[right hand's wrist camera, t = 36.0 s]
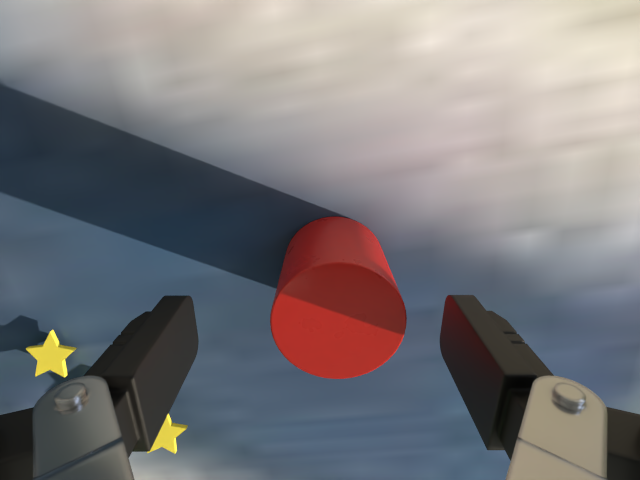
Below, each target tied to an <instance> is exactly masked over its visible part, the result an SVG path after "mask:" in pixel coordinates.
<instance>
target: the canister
mask: <svg viewBox="0 0 640 480" xmlns="http://www.w3.org/2000/svg"><path fill="white" fill-rule="evenodd" d="M406 319H407V318H406V310H405V306H404V302H403V300H402V297H401V295H400V292H399V290H398V288H397V285H396V283H395V280H394V278H393V275H392V273H391V270H390V268H389V266H388V263H387V261H386V258H385V256H384V253H383V251H382V248H381V246H380V244H379V242H378V240H377V238H376V237H375V236H374V234H373V233H372V232H371V231H370V230H369V229H368V228H367V227H365V226H364V225H362V224H361V223H359V222H357V221H355V220H352V219H349V218H344V217H325V218H321V219H317V220H315V221H312V222H310V223H309V224H307V225H305V226H304V227H303V228H301V229H300V230H299V231H298V232H297V233H296V234H295V235H294V237H293V238H292V239H291V241H290V243H289V245H288V248H287V251H286V255H285V258H284V262H283V266H282V270H281V274H280V278H279V282H278V286H277V290H276V294H275V298H274V302H273V306H272V310H271V317H270V325H271V331H272V335H273V338H274V341H275V343H276V345H277V347H278V348H279V350H280V351H281V353H282V354H283V355H284V357H285V358H287V359H288V360H289V361H290V362H291V363H292V364H293V365H295V366H296V367H298V368H299V369H301V370H303V371H305V372H307V373H310V374H312V375H316V376H319V377H324V378H332V379H344V378H352V377H356V376H360V375H363V374H366V373H368V372H370V371H372V370H374V369H376V368H378V367H379V366H381V365H382V364H384V363H385V362H386V361H387V360H388V359H389V358H390V357H391V356H392V355H393V354H394V353H395V351H396V350H397V349H398V347H399V345H400V343H401V341H402V339H403V336H404V333H405V329H406Z"/></svg>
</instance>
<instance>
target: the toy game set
mask: <svg viewBox="0 0 640 480" xmlns="http://www.w3.org/2000/svg"><path fill="white" fill-rule="evenodd" d="M75 349H76V348H74V347H69V346H63V345H60V343H59V341H58V339H57V337H56V335H55V332H54V330H52V331H51V332H50V333H49V335H48V337H47V339H46V341H45V343H44V345H37V346H29V347H27V348H26V350H27V351H28V352H29V353H30V354H31V355H32V356H33V357H34V358H36V359H37V360H38V363H37V368H36V374H35V377H36V376H38V375H40V374H42V373H44V372H46V371H48V370H51V371H53V372H55V373H57V374H59V375H61V376H63V377H64V378H65V377H66V376H67V369H66V363H65V358H67V357H68V356H69V355H70V354H71V353H72V352H73V351H74V350H75ZM187 426H188V425H182V424H176V423H172V421H171V419H170V416H169V414H168V415H167V417H166V419H165V421H164V423H163V425H162V427H161V429H160V432H159V434H158V436H157V438H156V440H155V442H154V444H153V446H152V448H151V450H150V451H148V452H147V453H149V452H151V451H153V450H156V449H158V448H160V447H163V448H165V449H167V450H169V451H171V452H173V453H176V451H177V448H176V437H177V436H178V435H179V434H181V433H182V432H183V431H184V430H185V429H187Z"/></svg>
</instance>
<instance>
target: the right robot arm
mask: <svg viewBox="0 0 640 480" xmlns="http://www.w3.org/2000/svg"><path fill="white" fill-rule="evenodd" d="M440 349H441V353H442V356H443V359H444V361H445V363H446V365H447V367H448V369H449V371H450V373H451V375H452V377H453V379H454V382H455V384H456V386H457V388H458V390H459V392H460V394H461V396H462V398H463V400H464V402H465V404H466V406H467V409H468V411H469V413H470V415H471V417H472V419H473V421H474V423H475V425H476V427H477V429H478V431H479V434H480V436H481V438H482V440H483V442H484V444H485V446H486V448H487V450H505V451H506V453H507V455H508V457H509V459H510V460H511V462H510V466H509V469H508V473H507V477H506V480H640V415H639V414H635V413H631V412H626V411H622V410H618V409H613V408H609V407H606V406H605V404H604V403H603V401H602V400H601V399H600V398H599V397H598V396H597V395H596V394H595V393H594V392H592V391H591V390H589V389H588V388H586V387H585V386H583V385H581V384H579V383H577V382H575V381H572V380H570V379H567V378H563V377H559V376H554V375H553V374H552V373H551V372H550V370H549V369H548V368H547V367H546V366H545V365H544V363H543V362H542V361H541V360H540V359H539V358H538V356H537V355H536V354H535V353H534V352H533V351H532V349H531V348H530V347H529V346H528V345H527V344H525V341H524V340H523V339H522V338H521V337H520V335H519V334H517V333H516V331H515V330H514V328H513V327H512V326H511V325H510V324H509V323H508V321H507V320H505V319H504V318H502V317H500V316H499V315H497V314H496V313H494V312H493V311H486V310H485V308H484V307H483V306H482V305H481V303H480V302H479V301H478V300H477V298H476V297H475V296H473V295H448V296H447V298H446V300H445V306H444V313H443V320H442V326H441V333H440ZM197 350H198V333H197V326H196V319H195V313H194V306H193V301H192V298H191V297H190V296H164V297H163V298H162V299H161V300H160V301H159V303H158V304H157V305H156V306H155V308H154V309H153V310H152V311H151V312H145V313H143V314H141V315H140V316H138V317H137V318H135V319H134V320H132V321H131V322H130V323H129V324H128V325H127V326H126V327H125V329H124V330H123V331H122V332H121V335H119V336H118V337H117V338H116V339H115V340H114V341H113V345H110V346H109V347H108V348H107V350H106V351H105V352H104V353H103V354H102V355H101V356H100V358H99V359H98V360H97V361H96V362H95V363H94V365H93V366H92V367H91V368H90V369H89V370H88V372H87V373H86V374H85V375H84V376H81V377H77V378H73V379H70V380H68V381H65V382H63V383H61V384H59V385H57V386H55V387H54V388H52V389H51V390H49V391H48V392H46V393H45V394H44V395H43V396H42V397H41V398H40V399H39V400H38V401H37V403H36V404H35V406H34V407H33V408H29V409H25V410H21V411H16V412H12V413H7V414H3V415H0V480H134V477H133V473H132V469H131V466H130V462H129V459H128V458H129V456H130V454H131V453H132V451H150V450H151V448H152V446H153V444H154V442H155V440H156V438H157V436H158V434H159V432H160V429H161V427H162V425H163V423H164V421H165V419H166V417H167V415H168V413H169V411H170V409H171V407H172V405H173V403H174V401H175V399H176V397H177V395H178V393H179V390H180V388H181V386H182V384H183V382H184V380H185V378H186V376H187V374H188V372H189V370H190V368H191V366H192V364H193V362H194V360H195V357H196V355H197Z"/></svg>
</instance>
